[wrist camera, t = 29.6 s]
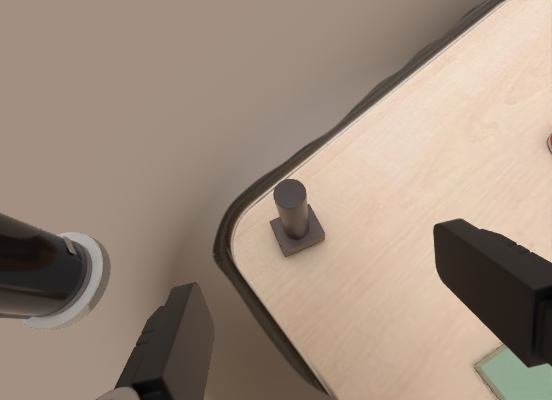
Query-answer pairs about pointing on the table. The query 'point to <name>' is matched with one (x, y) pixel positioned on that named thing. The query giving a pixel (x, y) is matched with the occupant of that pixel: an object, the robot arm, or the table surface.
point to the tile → (515, 376)
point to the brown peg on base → (294, 218)
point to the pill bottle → (550, 142)
